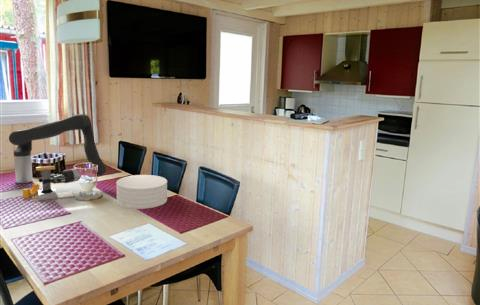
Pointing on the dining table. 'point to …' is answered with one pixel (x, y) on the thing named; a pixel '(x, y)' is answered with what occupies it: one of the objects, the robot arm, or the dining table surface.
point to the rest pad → (65, 194)
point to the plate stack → (141, 191)
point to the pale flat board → (36, 199)
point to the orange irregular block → (31, 191)
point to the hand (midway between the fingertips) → (41, 181)
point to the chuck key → (46, 177)
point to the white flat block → (47, 195)
